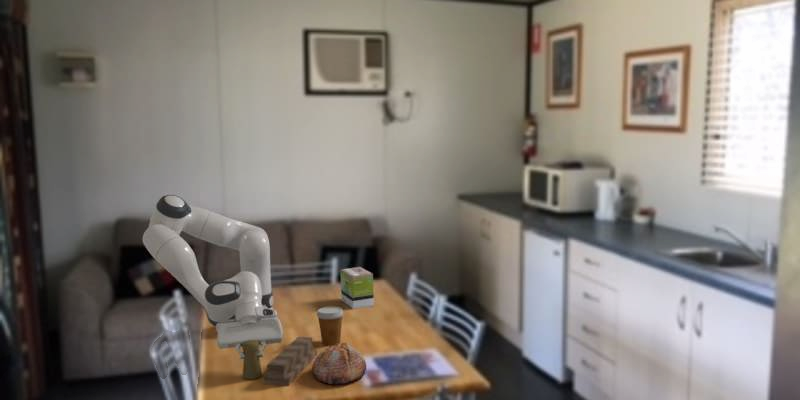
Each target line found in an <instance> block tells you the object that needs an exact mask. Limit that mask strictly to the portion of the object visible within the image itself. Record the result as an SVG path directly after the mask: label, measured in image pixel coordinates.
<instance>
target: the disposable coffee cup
mask: <svg viewBox="0 0 800 400" xmlns="http://www.w3.org/2000/svg"><path fill="white" fill-rule="evenodd" d="M316 316H317V318H318V325H319V329H320V336H321V343H322V344H323V346H333V345H335V344H336V343H337V342H339V343H340V344H341V336H342V325H343V324H342V323H343V316H344V311H343V309H342V308H341V307H339V306H325V307H321V308H318V310H317V313H316Z"/></svg>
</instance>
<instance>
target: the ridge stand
mask: <svg viewBox="0 0 800 400" xmlns="http://www.w3.org/2000/svg"><path fill="white" fill-rule="evenodd" d="M317 350H318V349H316V348H315V349H314V348H313V337H299V336H298V337H296V339H294V340H293V341H292V342H291V343H290V344H289V345H287V346H286V347H285V348H284V349H283V350H282V351H281V352H280V353H279V354H278V355H276V357H275V358H273V359H272V360H271V361H270V362H269V363H268V364H267V374H265V376H264V377H263V385H274V384H276V385H275V386H277V385H278V386H290V385H291V384H292V383H293V382H294V381H295V380H296V378H297V377H298V376H299V375H300V374H301V373H302V372H303V371H304V370H305V369H306V367H307V366H308V365H309V364H310V363H311V362H312V361H313V360H315V359H316V357H317V356H318V352H317Z"/></svg>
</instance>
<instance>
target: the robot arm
mask: <svg viewBox="0 0 800 400" xmlns="http://www.w3.org/2000/svg"><path fill="white" fill-rule="evenodd" d="M155 205H156V206H155V208H154V210H153V212H152V214H151V216H150V219H149V224H148V227H147V229H145V231H144V233H143V236H142V243H143V245H144V246H145V248H146V250H147V251H148V252H149V254H150V255H151V256H152V257H153V259H154V260H156V261H157V263H158V264H159V265H161V267H163V268H164V269H165V271H167V272H168V273H170V275H171V276H172V277H174V278H175V279H176V281H177V282H179V283H180V284H181V285H182V286H183V287H184V288H185V290H186V291H187V292H188V293H189V294H190V295H191V297H193V298H194V300H196V301H197V302H198V304H199V305H200V306H201V308H203V309H204V311H205V314H206V317H207V320H208V323H210V324H211V325H212V326H214V327H215V331H216V332H217V338H216V345H217V348H219V349H231V348H235V351H236V352H237V353H238V354H239V360H244V358H245V355H244V351H243V350H241V349H242V345H243V343H244V342H245V341H248V340H256V341H258V343H259V346H260V347H261V348H259V350H258V357H259V358H263V355H264V354H263V353H264V351H265V349H266V347H267V345H271V344H273V345H274V344H281V343H282V342H283V340H284V333H283V326H282V323H281V320H280V319H279V318H278V313H277V310H276V309H274V308H273V307H274V294H273V290H272V280H271V279H272V275H271V249H270V248H271V247H270V240H269V236H268V234H267V232H266V230H264V229H263V228H262V227H259V226H256V225H253V224H250V223H248V222H247V223H246V222H243V221H240V220H237V219H234V218H230V217H228V216H224V215H222V214H219V213H217V212H215V211H212V210H209V209H206V208H203V207H199V206H195V205H189V204H188V203H187V201H186V200H185V199H183V197H180V196H178V195H175V194H166V195H162V196H161V197H160V199H159V200H158V201H157V203H156V204H155ZM181 232H184V233H185V234H187V235H190V236H192V237H194V238H196V239H199V240H202V241H205V242H207V243H210V244H213V245H216V246H219V247H223V248H224V247H225V248H228V249H232V250H236V251H238V252H239V264H240V266H239V267H240V272H238V273H236V274H235V275H234V276H232V277H231V278H228V279H224V280H217V281H213V282H211V283H210V284H208V282H206V280H205V279H204V278H203V275H202V274H201V271H200V269H199V265H198V261H197V258H196V255H195V252H194V250H193V249H192V247H191V246H190V245H189V243H188V242H187V241H186V240H185V239H184V238H183V237H182V236H181Z"/></svg>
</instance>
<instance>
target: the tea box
mask: <svg viewBox="0 0 800 400" xmlns="http://www.w3.org/2000/svg"><path fill="white" fill-rule="evenodd" d="M339 271H340V272H339V273H340V287H341V289H340V292H341V293H340V294H341V302H344V303H345V304H346V305H347V306H348V307H350V309H351V308H352V310H357V309H364V308H370V307H374V305H375V299H374V297H375V296H374V294H375V293H374V274H373V272H371V271H369V270H366V269H365V268H363V267H362V266H356V267H351V268H342V269H341V268H340V270H339Z"/></svg>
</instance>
